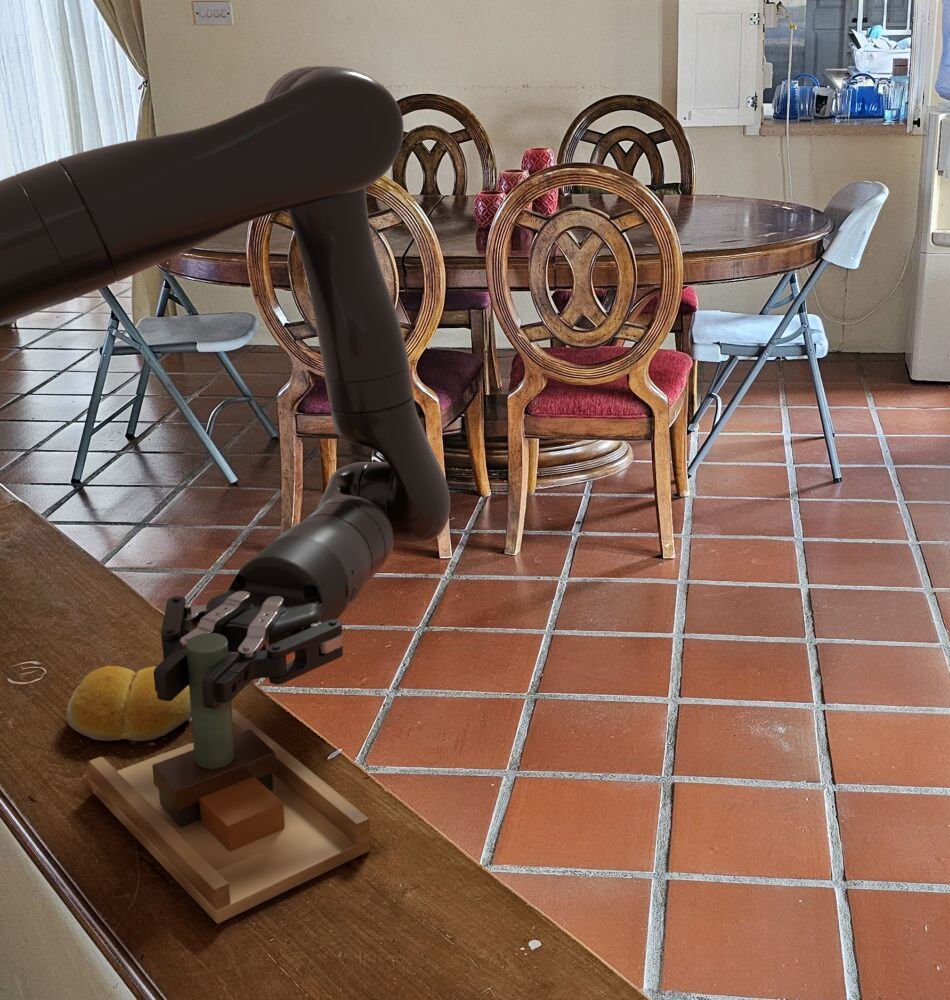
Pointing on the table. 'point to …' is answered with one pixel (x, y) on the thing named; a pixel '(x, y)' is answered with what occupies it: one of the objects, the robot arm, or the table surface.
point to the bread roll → (124, 706)
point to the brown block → (242, 813)
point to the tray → (255, 866)
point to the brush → (210, 744)
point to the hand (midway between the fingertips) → (185, 691)
